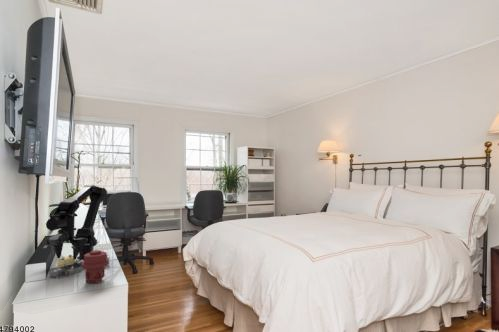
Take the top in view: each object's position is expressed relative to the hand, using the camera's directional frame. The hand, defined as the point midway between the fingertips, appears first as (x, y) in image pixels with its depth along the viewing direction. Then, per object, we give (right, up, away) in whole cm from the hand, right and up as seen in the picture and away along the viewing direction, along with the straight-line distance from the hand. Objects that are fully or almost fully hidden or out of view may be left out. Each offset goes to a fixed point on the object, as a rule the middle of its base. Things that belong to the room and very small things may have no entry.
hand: (66, 258), depth 139 cm
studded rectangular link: (+7, -3, -9) cm, 12 cm away
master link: (0, -4, 0) cm, 4 cm away
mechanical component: (+25, -3, -21) cm, 33 cm away
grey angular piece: (+17, -4, -1) cm, 18 cm away
